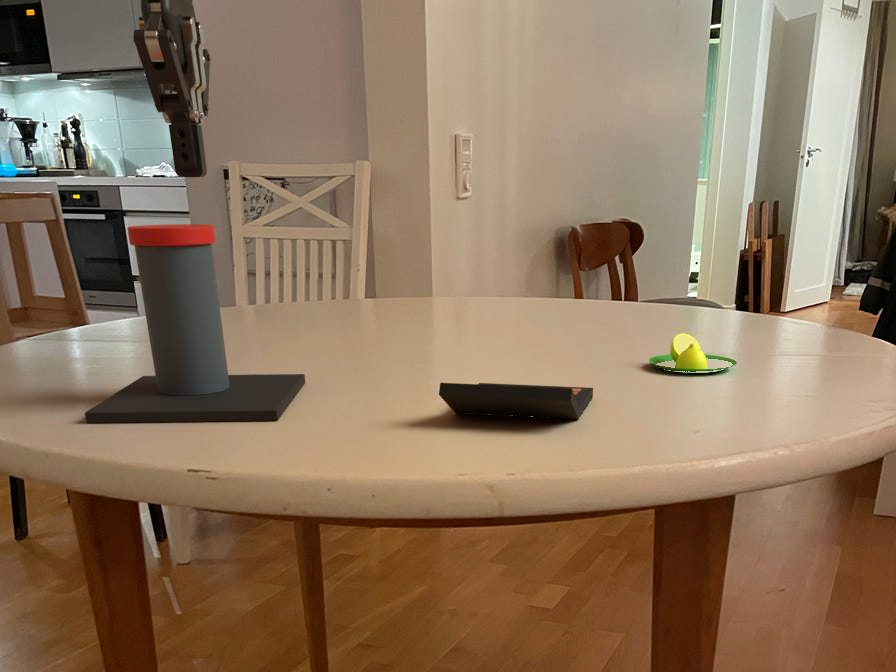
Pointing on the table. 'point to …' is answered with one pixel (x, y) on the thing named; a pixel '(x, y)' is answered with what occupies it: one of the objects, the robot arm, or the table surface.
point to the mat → (201, 401)
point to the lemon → (687, 356)
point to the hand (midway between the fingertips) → (191, 176)
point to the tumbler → (182, 307)
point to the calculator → (516, 399)
